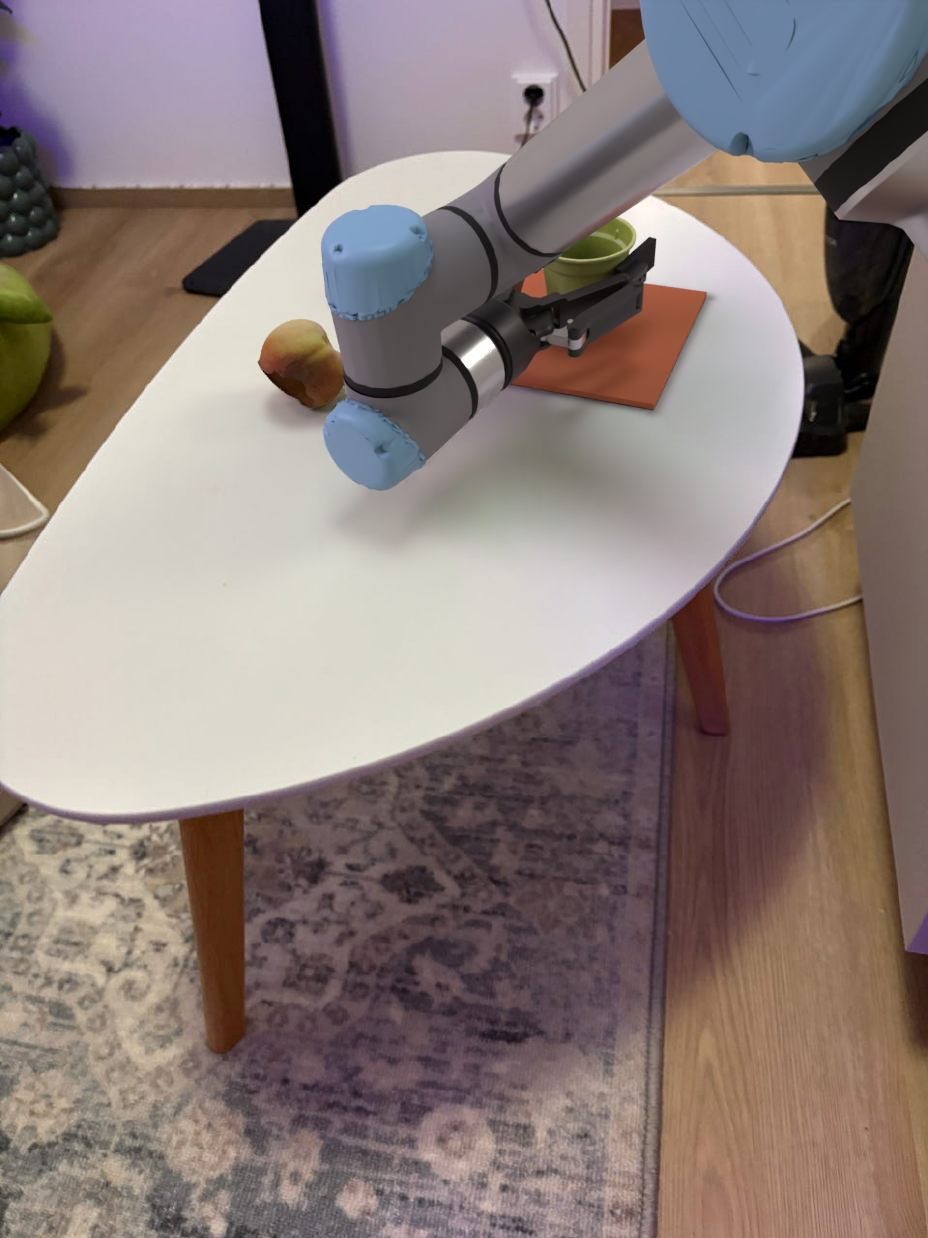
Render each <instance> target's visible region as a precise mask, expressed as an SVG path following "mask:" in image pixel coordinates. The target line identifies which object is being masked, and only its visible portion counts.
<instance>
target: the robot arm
mask: <svg viewBox="0 0 928 1238" xmlns="http://www.w3.org/2000/svg"><path fill="white" fill-rule="evenodd" d="M639 9H640V14H641V23H642V29H643V34H644V39H643V40H642V41H641V42H639V44H637V45H636V46H635V47H634V48H633V49H631V51H629V52H628V53H627V54H626V55H625V56H624V57H622V58H621V59H620V60H619V61H618V62H617V63H616V64H614V65H613V66H612V67H611V68H610V69H609V70H608V71H607V72H606V73H604V74H603V75H602V76H601V77H600V78H599V79H597V81H595V82H594V83H593V84H591V86H589V88H587V89H586V90H585V91H583V93H581V94H580V95H579V96H578V97H577V98H576V99H575V100H574V101H572V103H570V104H569V105H568V106H567V107H566V108H564V109H563V110H562V111H561V112H560V113H558V115H557V116H555V117H554V118H553V119H552V120H551V121H550V122H549V123H547V124H546V125H545V126H544V127H543V128H542V129H541V130H539V131H538V132H537V133H536V134H535V135H534V136H533V137H531V138H530V139H529V140H528V141H527V142H526V143H525V144H523V146H522V147H520V148H518V150H517V151H516V152H515V153H513V154H512V155H511V156H510V157H509V158H508V159H507V160H506V161H505V162H504V163H502V164H501V165H499V167H498V168H496V169H495V170H494V171H493V172H492V173H490V174H489V175H488V176H487V177H486V178H485V179H484V180H483V181H481V182H480V183H479V184H477V185H476V186H474V187H473V188H471V189H470V190H468V191H466V192H465V193H463V194H462V195H460V196H458V197H457V198H455V199H453V200H452V201H450V202H448V203H446V204H445V205H443V206H440V207H438V208H435V209H434V210H432V211H430V212H427V213H426V214H424V215H422V216H421V215H420V214H419V213H418V212H416V211H414V210H412V209H410V208H408V207H405V206H401V205H396V204H373V205H372V204H371V205H369V206H368V207H366V208H363V209H352V210H350V211H347V212H344V213H343V214H341V215H340V216H338V217H337V218H335V219H334V220H333V221H332V222H331V223H330V224H329V225H328V226H327V227H326V230H325V231H324V233H323V235H322V237H321V241H320V254H321V261H322V262H321V269H322V275H323V276H322V277H323V282H324V283H323V284H324V294H325V295H324V296H325V299H326V303H327V305H328V307H329V309H330V314H331V318H332V323H333V326H334V327H333V328H334V331H335V335H336V340H337V344H338V349H339V352H340V353H341V357H342V361H343V365H342V366H343V379H344V389H345V393H346V396H345V398H344V399H343V400H340V401H337V403H336V406H335V407H334V408H333V409H332V410H331V411H330V412H329V413H328V414H327V416H326V418H325V422H324V425H323V429H322V436H323V443H324V445H325V448H326V450H327V452H328V454H329V456H330V458H331V460H332V461H333V462H334V464H335V465H336V467H337V468H338V469H339V470H340V471H341V472H342V473H343V474H344V475H345V476H346V477H347V478H349V480H351V481H353V482H354V483H355V484H357V485H361V486H363V487H365V488H367V489H368V490H373V491H377V492H378V491H380V492H381V491H388V490H390V489H392V488H395V487H396V486H397V485H399V484H400V483H401V482H402V481H404V480H405V479H406V478H408V477H410V476H411V475H412V474H414V472H416V471H417V470H420V469H421V468H423V467H424V466H425V464H426V462H427V461H428V460H429V459H430V458H431V457H432V456H433V455H434V454H435V453H437V452H438V451H439V450H440V449H441V448H442V447H443V446H444V445H446V443H447V442H448V441H449V440H451V439H452V438H453V437H454V436H455V435H456V434H457V433H458V432H459V431H460V430H461V429H462V428H463V427H464V426H465V425H467V424H468V422H470V421H471V420H472V419H473V418H474V417H476V415H478V414H479V413H480V412H481V411H482V410H483V409H484V408H486V406H488V405H489V404H490V403H491V402H492V401H493V400H494V399H496V397H497V396H498V395H499V394H500V393H501V392H503V391H504V390H505V389H506V388H508V387H509V385H512V384H511V383H512V382H513V381H514V380H515V379H516V378H517V377H518V376H520V375H521V374H522V373H523V372H524V371H525V370H526V368H527V367H528V366H529V364H530V362H531V361H532V359H533V357H534V356H535V354H536V353H537V352H539V351H542V350H545V349H547V348H549V347H550V346H551V345H552V344H553V345H558V346H562V347H567V354H568V356H569V357H574V358H575V357H579V356H580V355H581V354H582V353H583V351H584V350H585V349H586V347H587V346H588V345H589V344H590V343H592V342H594V341H595V340H597V339H598V338H600V337H601V336H603V335H605V334H606V333H608V332H609V331H611V330H613V329H614V328H616V327H617V326H619V325H621V324H622V323H624V322H625V321H627V320H629V319H630V318H632V317H633V316H635V315H636V314H638V313H640V312H641V311H642V306H643V293H644V283H645V282H646V281H647V275H648V272H650V271H651V270H652V269H653V268H654V267H655V263H656V252H657V251H656V250H657V238H655V237H652V236H648V237H647V238H646V239H645V240H644V241H642V242H641V244H639V245H638V246H637V247H636V248H634V249H633V250H632V251H631V252H629V255H628V256H627V257H626V258H625V259H624V260H623V261H621V262H620V263H619V264H618V265H617V266H616V267H615V268H614V276H612V277H609V278H606V279H604V280H601V281H598V282H595V283H593V284H590V285H587V286H585V287H582V288H579V289H577V290H574V291H571V292H569V293H566V294H563V295H561V294H560V293H558V292H554V293H552V294H549V295H546V296H544V297H541V298H538V297H531V296H529V295H527V294H525V293H522V292H521V290H522V287H523V283H524V280H525V278H527V277H528V276H530V275H531V274H533V273H535V274H536V273H537V272H538V271H540V270H541V269H543V268H544V267H546V266H547V265H549V264H551V263H553V262H554V261H556V260H557V259H558V258H559V257H560V256H561V255H562V254H563V253H564V252H565V251H566V250H568V249H569V248H571V247H572V246H574V245H575V244H577V243H578V242H580V241H581V240H583V239H584V238H586V237H588V236H589V235H591V234H592V233H594V232H595V231H597V230H598V229H600V228H601V227H603V226H604V225H606V224H607V223H609V222H610V221H612V220H614V219H615V218H617V217H620V216H622V215H623V214H625V213H626V212H627V211H629V210H631V209H632V208H633V207H635V206H636V205H638V204H640V203H642V202H643V201H644V200H645V199H647V198H649V197H650V196H652V195H653V194H655V193H656V192H658V191H660V190H661V189H662V188H664V187H666V186H667V185H669V184H670V183H672V182H674V181H675V180H676V179H678V178H679V177H681V176H683V175H684V174H685V173H687V172H689V171H690V170H692V169H693V168H694V167H696V166H698V165H699V164H701V163H702V162H704V161H705V160H707V159H708V158H710V157H712V156H713V155H714V154H716V153H718V152H719V151H722V152H724V153H726V154H728V155H730V156H732V157H741V156H749V157H752V158H754V159H756V160H757V161H759V162H761V163H765V164H767V163H769V164H770V163H774V164H784V163H792V164H793V163H794V164H798V165H799V167H800V168H801V170H802V171H803V172H804V173H805V175H806V177H807V178H808V179H809V180H810V182H811V183H812V184H813V186H814V187H815V189H816V191H818V192H819V195H820V196H821V198H823V200H824V201H825V202H826V204H827V206H828V207H829V208H830V209H831V211H832V212H833V213H834V215H835V216H836V217H837V219H838V220H840V221H854V222H866V223H877V224H878V223H879V224H888V225H891V226H894V227H896V228H899V229H901V230H902V231H904V233H905V234H906V236H907V237H908V238H909V239H910V242H911V243H912V244H913V245H914V246H915V248H916V249H917V250H918V252H919V253H920V255H921V256H922V257H923V259H924V261H926V263H927V264H928V0H639ZM552 311H553V313H552Z"/></svg>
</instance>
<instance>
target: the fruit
mask: <svg viewBox="0 0 928 1238" xmlns="http://www.w3.org/2000/svg"><path fill="white" fill-rule="evenodd" d="M257 364H258V367H259V368H260V370H261V371H262V373H263V374H264V375H265V376H266V378H267V379H268V380H269V381H270V382H271V383H272V384H273V385H274V386H275V387H276V388H277V389H279V390H280V391H281V392H282V393H284V394H285V395H287V396H289V397H291V398H293V399H295V400H297V401H298V402H299V403H300V405H302V406H304V407H305V408H308V409H317V408H320V407H323V406H326V405H327V404H329V403H331V402H332V401H333V400H334V399H335V398H336V397H337V396H339V394H340V393H341V391H342V390H343V388H344V387H345V385H344V379H343V366H342V365H343V361H342V357H341V353H340V351H338V350H336V349H335V348H334V347H333V345H332V343H331V341H330V339H329V337H328V334H327V332H326V330H325V329H324V327H323V326H322V325H321V324H319V323H318V322H316V321H313V320H310V319H305V318H295V319H290V320H287V321H285V322H283V323H281V324H280V325H278V326H277V327H276V328H274V329H272V331H270V333H269V334H268V335H267V337H266V338H265V340H264V342H263V344H262V347H261V349H260V354H259V359H258V360H257Z"/></svg>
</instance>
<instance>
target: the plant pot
mask: <svg viewBox="0 0 928 1238" xmlns="http://www.w3.org/2000/svg"><path fill="white" fill-rule="evenodd" d="M636 242H637V231H636V229H635V228H634V227H633V225H632V224H631V223H630V222H629V221H628V220H626V219H624V218H623V217H620V216H618V217H617V218H615V219H614V220H612V221H610V222H609V223H607V224H606V225H604V226H603V227H601V228H600V229H598V230H597V231H595V232H594V233H592V234H591V235H589V236H588V237H586V238H584V239H583V240H581V241H580V242H578V243H577V244H575V245H574V246H572V247H571V248H569V249H568V250H566V251H565V252H564V253H563V254H562V255H561V256H560V257H559V258H558V259H557V260H556V261H554V262H553V263H551V264H549V265H547V266H546V267H544V268H543V271H544V277H545V283H546V290H547V295H549V294H552V293H554V292H558V293H560V294H561V295H563V294H566V293H569V292H571V291H574V290H577V289H579V288H582V287H585V286H587V285H590V284H593V283H595V282H598V281H601V280H604V279H606V278H609V277H612V276H614V268H615V267H616V266H617V265H618V264H619V263H620V262H621V261H623V260H624V259H625V258H626V257H627V256H628V255H629V254H630V251H631V250H632V248H633V247H634V246H635V244H636ZM552 313H553V311H552Z"/></svg>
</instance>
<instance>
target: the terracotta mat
mask: <svg viewBox="0 0 928 1238" xmlns="http://www.w3.org/2000/svg"><path fill="white" fill-rule="evenodd" d="M521 292H522V293H525V294H527V295H529V296H531V297H538V298H541V297H544V296H546V295H547V290H546V283H545V277H544V271H543V269H541V270H540V271H538V272H537V273H536V274H535V273H533V274H531V275H530V276H528V277H527V278H525V280H524V283H523V287H522V290H521ZM707 294H708V292H707V291H703V290H697V289H688V288H682V287H674V286H667V285H660V284H659V285H658V284H653V283H645V282H644V293H643V306H642V311H641V312H640V313H638V314H636V315H635V316H633V317H632V318H630V319H629V320H627V321H625V322H624V323H622V324H621V325H619V326H617V327H616V328H614V329H613V330H611V331H609V332H608V333H606V334H605V335H603V336H601V337H600V338H598V339H597V340H595V341H594V342H592V343H590V344H589V345H588V346H587V347H586V349H585V350H584V351H583V353H582V354H581V355H580V356H579V357H575V358H574V357H569V356H568V354H567V347H562V346H558V345H553V344H552V345H551V346H550V347H549V348H547V349H545V350H542V351H539V352H537V353H536V354H535V356H534V357H533V359H532V361H531V362H530V364H529V366H528V367H527V368H526V370H525V371H524V372H523V373H522V374H521V375H520V376H518V377H517V378H516V379H515V380H514V381H513V382H512V383H511V384H510V385H514V386H520V387H527V388H532V389H536V390H542V391H549V392H554V393H558V394H559V393H560V394H565V395H570V396H576V397H582V398H587V399H593V400H597V401H604V402H610V403H616V404H619V405H620V404H621V405H626V406H631V407H638V408H643V409H648V410H654V409H655V407H656V405H657V403H658V401H659V398H660V397H661V394H662V392H663V390H664V388H665V386H666V384H667V382H668V380H669V378H670V375H671V373H672V371H673V369H674V367H675V364H676V362H677V361H678V357H679V356H680V354H681V352H682V349H683V348H684V346H685V343H686V341H687V339H688V336H689V334H690V332H691V330H692V328H693V326H694V324H695V321H696V319H697V317H698V316H699V313H700V311H701V309H702V306H703V305H704V303H705V300H706V299H707Z"/></svg>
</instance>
